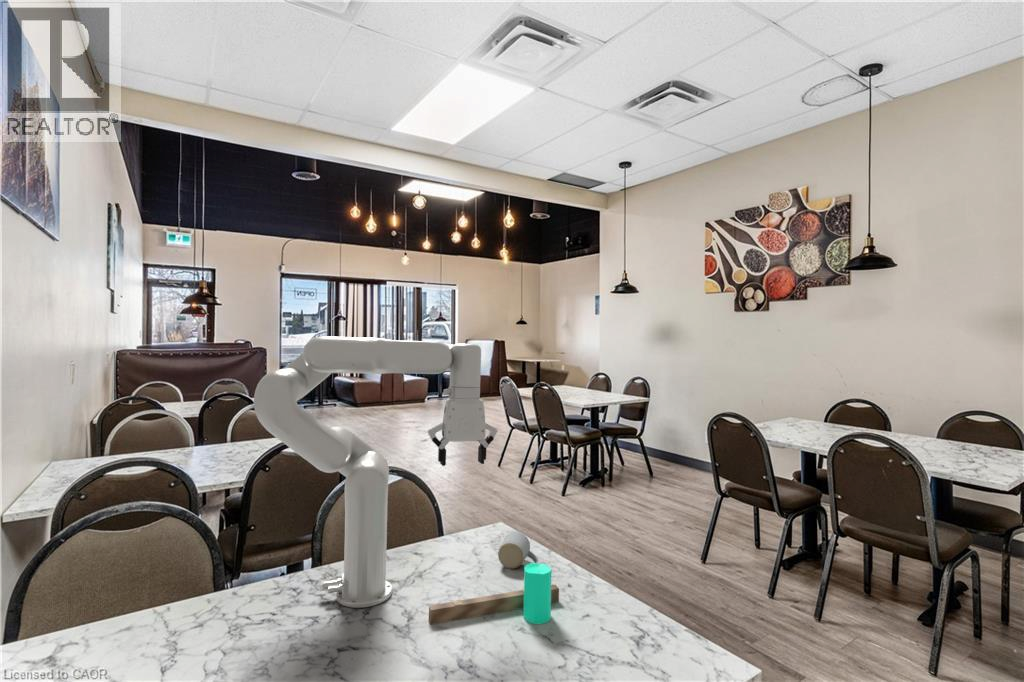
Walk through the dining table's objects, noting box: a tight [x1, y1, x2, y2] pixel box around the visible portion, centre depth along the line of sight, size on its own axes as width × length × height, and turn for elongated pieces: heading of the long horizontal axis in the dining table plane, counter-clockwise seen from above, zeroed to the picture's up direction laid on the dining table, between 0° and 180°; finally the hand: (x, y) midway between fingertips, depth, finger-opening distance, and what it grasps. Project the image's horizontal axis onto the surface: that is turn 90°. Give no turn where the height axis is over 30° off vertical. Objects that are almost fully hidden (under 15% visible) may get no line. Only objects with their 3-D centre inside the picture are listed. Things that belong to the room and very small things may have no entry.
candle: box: [523, 562, 552, 625], centre depth 109 cm, size 6×6×12 cm
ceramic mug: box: [497, 530, 540, 570], centre depth 135 cm, size 11×8×8 cm
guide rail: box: [428, 584, 560, 625], centre depth 111 cm, size 30×2×3 cm, turn 111°
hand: (462, 463), depth 122 cm, fingers open, 9 cm apart
